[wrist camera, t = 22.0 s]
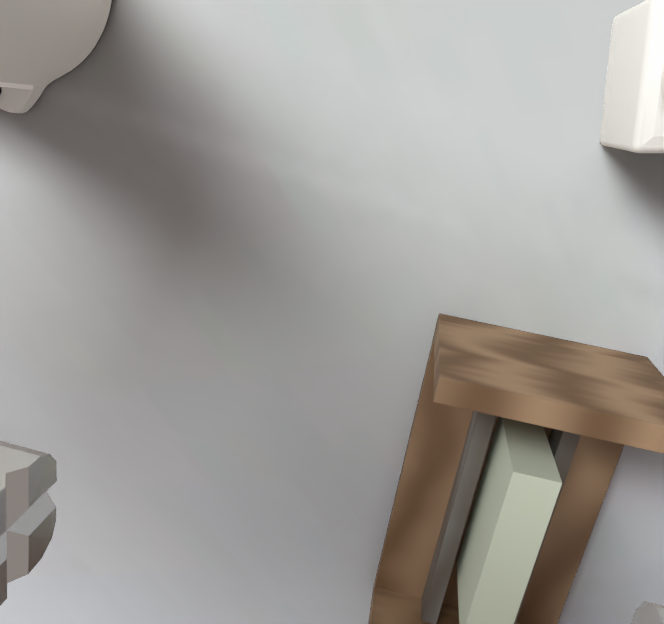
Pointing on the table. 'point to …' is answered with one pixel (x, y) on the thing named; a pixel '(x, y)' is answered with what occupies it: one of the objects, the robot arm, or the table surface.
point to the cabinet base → (473, 447)
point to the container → (635, 81)
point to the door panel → (506, 523)
